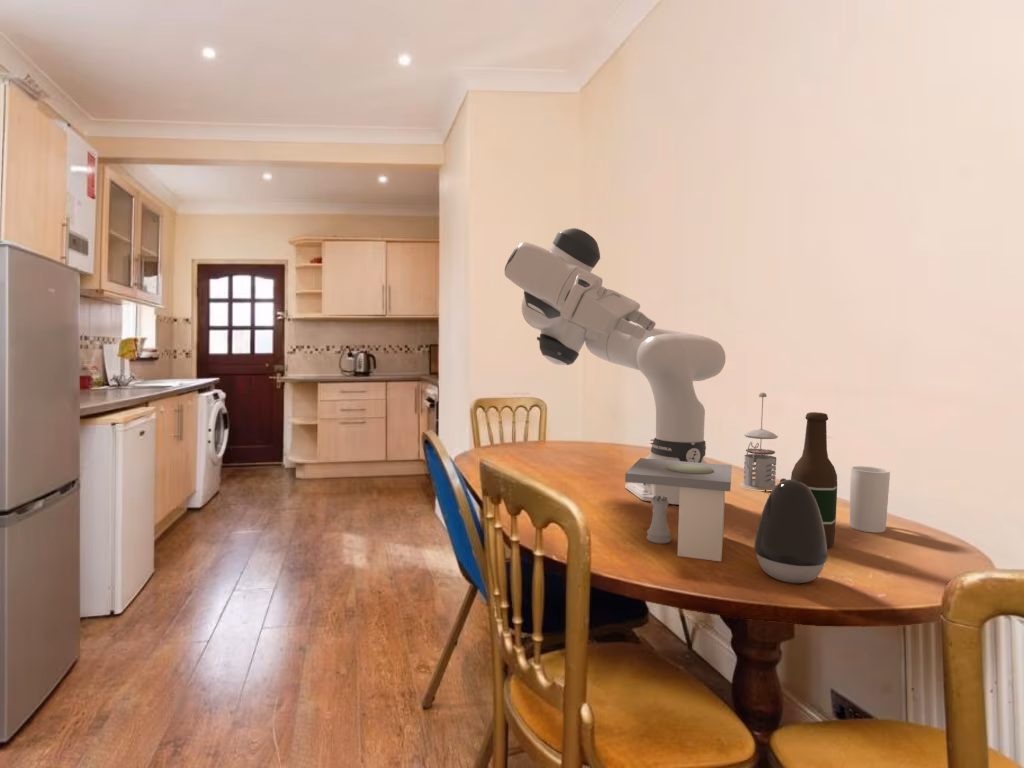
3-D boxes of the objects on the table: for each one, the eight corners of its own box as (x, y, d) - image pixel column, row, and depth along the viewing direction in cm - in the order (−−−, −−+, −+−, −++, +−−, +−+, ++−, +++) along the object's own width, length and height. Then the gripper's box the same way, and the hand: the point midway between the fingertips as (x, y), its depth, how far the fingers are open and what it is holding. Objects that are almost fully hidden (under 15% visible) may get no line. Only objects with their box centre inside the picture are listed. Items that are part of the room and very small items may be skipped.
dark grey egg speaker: (812, 567, 98) (816, 474, 97) (836, 592, 88) (841, 488, 87) (746, 563, 99) (750, 471, 99) (762, 586, 89) (766, 484, 88)
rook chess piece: (672, 538, 112) (673, 496, 112) (670, 545, 108) (671, 501, 107) (647, 535, 114) (649, 493, 113) (644, 542, 109) (646, 498, 109)
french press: (785, 487, 159) (789, 393, 158) (768, 494, 151) (772, 394, 149) (748, 481, 166) (751, 390, 165) (729, 488, 157) (733, 392, 156)
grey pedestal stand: (623, 550, 104) (625, 471, 104) (638, 525, 120) (640, 456, 120) (727, 564, 99) (730, 480, 98) (728, 535, 114) (731, 463, 114)
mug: (887, 535, 117) (890, 474, 116) (847, 529, 120) (850, 470, 120) (885, 523, 126) (888, 466, 125) (848, 518, 129) (851, 462, 128)
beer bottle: (816, 551, 106) (822, 415, 105) (778, 539, 113) (784, 411, 112) (844, 546, 110) (850, 414, 108) (806, 534, 116) (811, 410, 115)
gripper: (591, 304, 123) (651, 337, 119) (557, 317, 105) (627, 356, 101) (605, 276, 120) (667, 309, 117) (573, 284, 102) (645, 323, 99)
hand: (648, 331), depth 109 cm, fingers open, 8 cm apart
